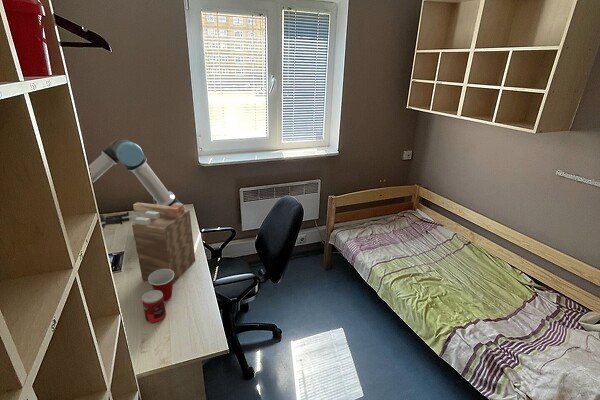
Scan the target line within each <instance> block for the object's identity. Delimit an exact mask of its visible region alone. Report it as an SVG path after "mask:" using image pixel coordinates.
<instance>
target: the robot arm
mask: <svg viewBox="0 0 600 400" xmlns="http://www.w3.org/2000/svg"><path fill="white" fill-rule="evenodd" d="M147 160H148V158H147V157H146V155H145V154H144V152H143V150H142V148H141V146H139V145H138V144H137V143H135V142H132V141H130V140H129V139H127V138H117V139H115V140H113V141H112V142H110V143H109V144H108V145H107V146H106V147H105V148H104V149H103V150H102V151H101V155H99V156H98V157H97V158H96V159H95V160H93V161H92V162H91V163H90V164H89V165H88V166H89V168H90V173H91V178H92V182H93V183H95V182H96V181H97V180H98V179H99V178H100V177H101V176H103V174H105V173H106V172H107V171H108V170H109V169H110V168H111V167H113V165H118V164H119V163H121V164H122V166H123V167H124V168H125V170H127V172H132V173H133V174H134V175H135V177H136V178H137V179H138V180H139V182H140V183H141V185H142V186H143V187H144V188H145V189H146V190H147V192H148V193H149V195H151V196H152V197H153V198H152V200H153V204H155V205H164V206H171V205H173V204H174V203H175V204H183V203H181V201H179V200H178V198H177V197H176V194H174V193H173V192H172V191H170V190H169V191H168V189H167V188H166V187H165V185H164V184H163V182H162V181H161V180H160V179H159V177H158V176H157V175H156V174H155V172H154V171H153V169H152V168H151V167H150V165H149V164H148V163H147V162H148V161H147ZM184 209H186V207H185V206H184ZM137 217H143V211H135V212H129V211H127V212H125V213H121V214H120V213H119V214H116V215H108V216H104V215H103V214H102V213H101V214H100V218H101V223H102V227H103V229H105V228H106V226H109V225H123V224H124V223H129V222H135V219H136V218H137Z"/></svg>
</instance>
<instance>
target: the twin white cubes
mask: <svg viewBox="0 0 600 400" xmlns="http://www.w3.org/2000/svg"><path fill="white" fill-rule="evenodd" d="M144 217H146V218H144ZM144 217H143V216H141V217H137V218H136V219H135V221H134V223H136V224H139V225H147V226H148V225H149V224H151V221H150V218H152V219H158V218H159V217H160V214H159V212H153V211H147V212H144Z"/></svg>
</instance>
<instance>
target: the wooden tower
mask: <svg viewBox="0 0 600 400" xmlns="http://www.w3.org/2000/svg"><path fill="white" fill-rule="evenodd" d="M159 214H160V217H159V218H158V219H152V218H150V221H151V224H149V225H148V226H147V225H139V224H136V223H135V222H134V223H133V224H131V228H132V231H133V238H134V243H135V249H136V254H137V259H138V263H139V269H140V274H141V280H142V282H143V281H145V282H149V281H148V277H149V275H150V274H151V273H152V272H154V271H156V270H160V269H170V270H172V271H173V272H174V278H173V285H174V284H175V283H176V282H177V281H178V280H179V279H180V278H181V277H182V275H184V273H185V272H187V271H188V269H189V268H190V267H191V266H192V265H193V264H194V263H195V262H196V255H195V245H194V238H193V237H194V236H193V229H192V220H191V211H190V209H186V208H185V209H184V213H182V214H181V215H180V216H178V217H174V216H168V214H162V213H159ZM143 218H146V217H145V216H144V217H143Z"/></svg>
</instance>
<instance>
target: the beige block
mask: <svg viewBox="0 0 600 400" xmlns="http://www.w3.org/2000/svg"><path fill="white" fill-rule="evenodd" d="M132 207H133V210H134V211H136V212H140V211H142V212H144V213H146V212H147V211H153V212H159V213H162V214H168V216H174V217H178V216H180V215H181V214H182V213H184V207H185V204H184V203H182V204H175V203H174V204H173V205H171V206H164V205H155V204H154V203H145V202H135V203H134V204H132Z"/></svg>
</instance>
